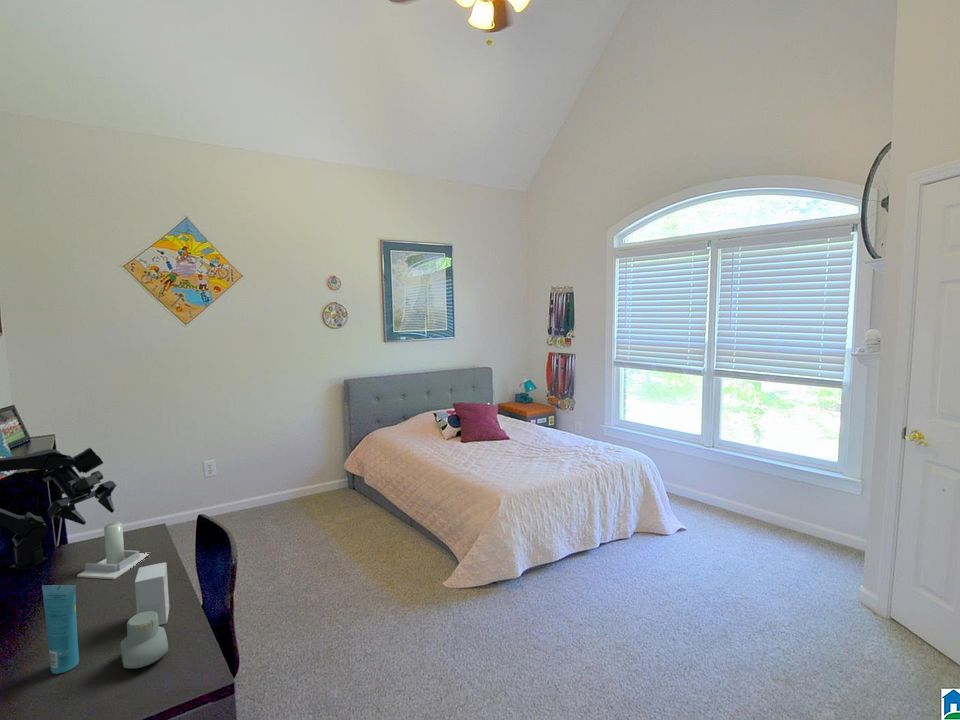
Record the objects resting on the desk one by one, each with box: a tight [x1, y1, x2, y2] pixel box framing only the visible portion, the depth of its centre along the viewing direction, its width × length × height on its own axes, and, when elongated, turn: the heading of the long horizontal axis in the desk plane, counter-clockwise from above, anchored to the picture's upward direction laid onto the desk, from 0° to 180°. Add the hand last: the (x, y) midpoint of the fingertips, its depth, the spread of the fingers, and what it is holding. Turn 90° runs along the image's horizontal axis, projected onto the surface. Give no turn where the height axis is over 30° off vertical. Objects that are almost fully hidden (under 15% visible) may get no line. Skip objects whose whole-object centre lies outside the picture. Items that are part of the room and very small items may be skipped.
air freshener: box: [119, 611, 169, 670], centre depth 113 cm, size 11×8×10 cm
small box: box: [133, 562, 170, 626], centre depth 127 cm, size 8×6×13 cm
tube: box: [41, 584, 80, 675], centre depth 110 cm, size 7×5×19 cm, turn 96°
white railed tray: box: [76, 549, 149, 580], centre depth 155 cm, size 12×15×3 cm
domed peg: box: [103, 521, 125, 564], centre depth 154 cm, size 5×5×12 cm
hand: (99, 517), depth 159 cm, fingers open, 9 cm apart
